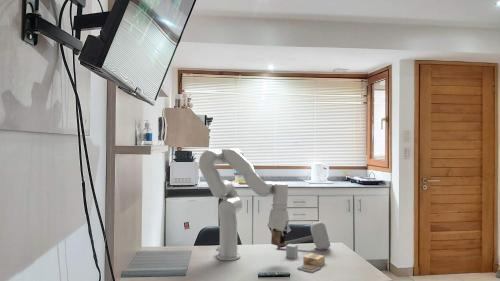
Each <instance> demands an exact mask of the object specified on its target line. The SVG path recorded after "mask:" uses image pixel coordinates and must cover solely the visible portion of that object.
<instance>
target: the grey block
mask: <svg viewBox="0 0 500 281" xmlns="http://www.w3.org/2000/svg"><path fill="white" fill-rule="evenodd" d="M298 248H299V246H298V244H297V243H296V244H288V245H287V246H286V247H285V251H286V252H285V257H286V258H289V259H290V258H293V259H296V258H297V257H298V254H299V252H298V251H299V250H298Z"/></svg>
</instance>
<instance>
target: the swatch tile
mask: <svg viewBox="0 0 500 281" xmlns="http://www.w3.org/2000/svg"><path fill="white" fill-rule="evenodd" d="M321 268H322V267H320V266H319V267H316V266H312V265H308V264H306V265H305V264H303V265H301V266H299V267H297V270H299V271H303V272H307V273H309V274H310V273H311V274H312V273H315V272H317V271H319V270H321Z"/></svg>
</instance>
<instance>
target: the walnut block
mask: <svg viewBox="0 0 500 281" xmlns="http://www.w3.org/2000/svg"><path fill="white" fill-rule="evenodd" d="M283 232H284V231H283ZM281 236H282V235H281V230H277V229H276V230H272V233H271V240H270V242H271V243H270V244H271V245H273V246H276V247H277V246H281V245H285V243H282V244H281V243H280V237H281Z"/></svg>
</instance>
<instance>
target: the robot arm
mask: <svg viewBox="0 0 500 281" xmlns="http://www.w3.org/2000/svg"><path fill="white" fill-rule="evenodd" d="M244 156H245V155H244V152H243V151H242V150H241V149H239V148H226V149H207V150H205V151H203V152H202V153H201V155H200V157H199V159H198V160H199V161H198V165H199V170H200V172H201V174H202V177H203V178H204V180H205V182H206V184H207V186H208V188H209V190H210V193H211V194H212V196H213V197H214V198H216V199H222V200H221V202H220V203H219V205H218V207H217V208H218V217H219V246H218V247H217V248H215V251H216V252H218V253H217V255H216V259H217V260H220V261H235V260H238V259H240V258H241V254H240V253H238V218H237V214H238V213H240V212H241V211H242V208H243V201H242V199H241V197H240V195H239V194H238V191H237V189H236V188H235V186H234V185H233V183H232V182H230V180H227V179H223V178H222V176H221V174H220V172H219V170H218V169H217V167H216V166H215V165H228V166H230V167H231V168H232V169H233V170H234V171H235V172H236V173H237V174H238V175H239V176H240V177H241V178H242V180H243V181H244V182H245V184H246V185H247V187H249V189H251V191H253V192H254V193H255V194H256V195H257V196H259V197H261V198H266V197H269V196H272V203H271V205H270V206H271V208H270V210H269V211H270V212H269V218H268V222H267V225H266V226H267V227H268V229H269V231H270V233H271V234H272V230H276V229H277V230H281V235H282V236H281V237H280V243H281V244H282V243H285V241H286V236H287V234H288V233H289V232H291V231H292V229H291V228H290V226H289V225H290V223H289V220H290V218H289V211H288V193H289V187H288V186H289V185H288V184H287V183H286V182H275V181H274V182H273V181H270V180H269V181H268V180H266V181H264V180H263V179H262V178H261V177H260V176H259V175H258V174H257V173H256V171H255V168H254V165H253V164H252V163H251V162H250V161H249V160H248V159H246V158H245V157H244ZM283 231H284V232H283Z"/></svg>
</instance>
